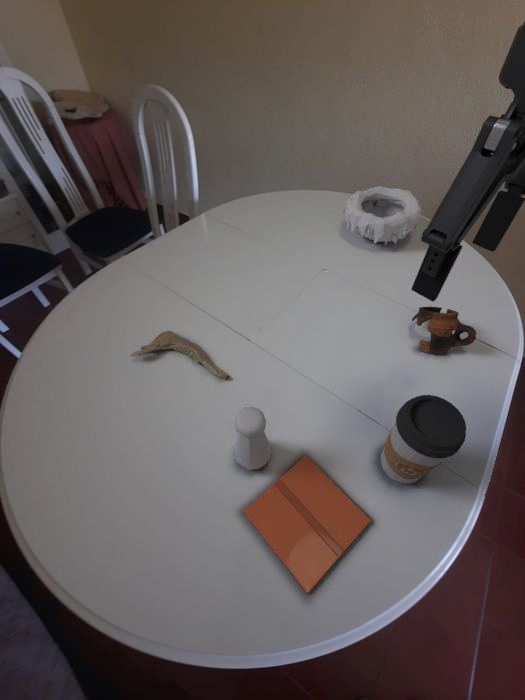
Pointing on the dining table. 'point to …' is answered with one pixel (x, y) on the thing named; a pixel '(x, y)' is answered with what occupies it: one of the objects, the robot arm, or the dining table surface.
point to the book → (307, 521)
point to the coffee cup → (422, 438)
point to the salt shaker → (251, 438)
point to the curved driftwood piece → (183, 345)
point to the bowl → (383, 213)
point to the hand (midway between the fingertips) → (455, 268)
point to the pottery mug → (443, 330)
